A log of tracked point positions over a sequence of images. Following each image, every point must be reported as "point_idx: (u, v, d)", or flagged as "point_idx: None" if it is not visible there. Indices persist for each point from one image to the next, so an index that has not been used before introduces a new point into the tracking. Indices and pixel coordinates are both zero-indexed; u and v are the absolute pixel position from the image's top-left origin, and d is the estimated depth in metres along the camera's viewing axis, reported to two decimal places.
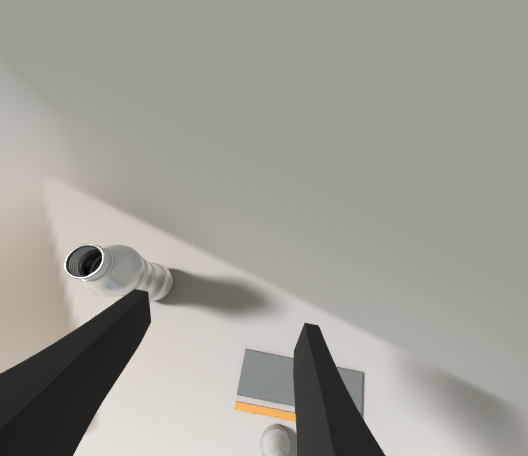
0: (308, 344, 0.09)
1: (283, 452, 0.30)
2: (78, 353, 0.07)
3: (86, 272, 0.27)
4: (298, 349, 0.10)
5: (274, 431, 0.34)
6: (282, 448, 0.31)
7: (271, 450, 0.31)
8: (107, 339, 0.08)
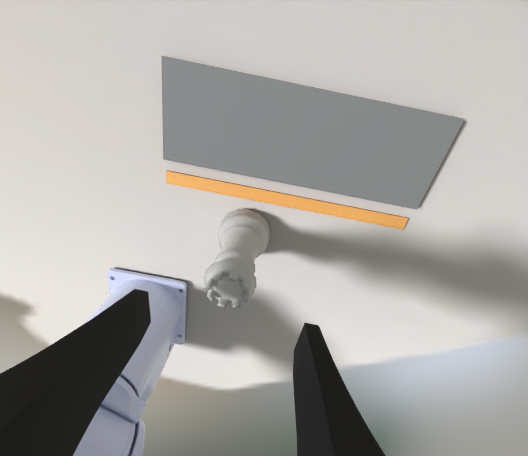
0: (308, 344, 0.09)
1: (240, 254, 0.15)
2: (78, 353, 0.07)
3: None
4: (298, 349, 0.10)
5: (238, 219, 0.18)
6: (244, 246, 0.16)
7: (223, 246, 0.16)
8: (107, 339, 0.08)
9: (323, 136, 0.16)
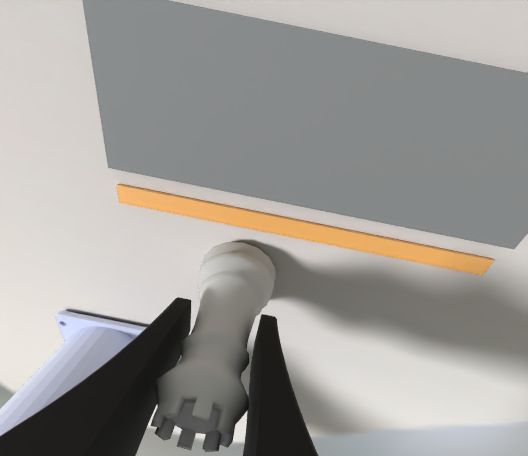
0: (259, 334, 0.09)
1: (223, 340, 0.08)
2: (141, 366, 0.07)
3: None
4: (255, 340, 0.10)
5: (226, 261, 0.11)
6: (231, 317, 0.09)
7: (200, 311, 0.10)
8: (161, 350, 0.08)
9: (370, 130, 0.09)
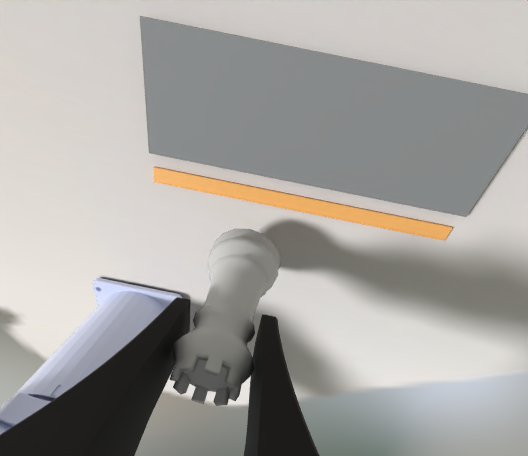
0: (260, 334, 0.09)
1: (231, 312, 0.09)
2: (140, 365, 0.07)
3: None
4: (256, 341, 0.10)
5: (234, 245, 0.12)
6: (239, 293, 0.10)
7: (210, 289, 0.11)
8: (161, 350, 0.08)
9: (350, 122, 0.12)
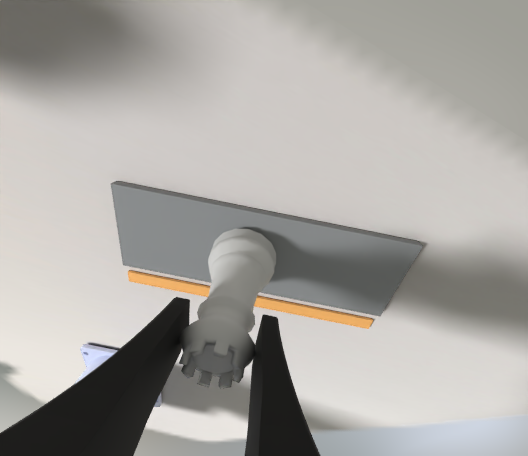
0: (261, 335, 0.09)
1: (235, 303, 0.10)
2: (138, 365, 0.07)
3: None
4: (257, 341, 0.10)
5: (234, 243, 0.13)
6: (240, 287, 0.11)
7: (213, 284, 0.12)
8: (160, 350, 0.08)
9: (279, 253, 0.16)
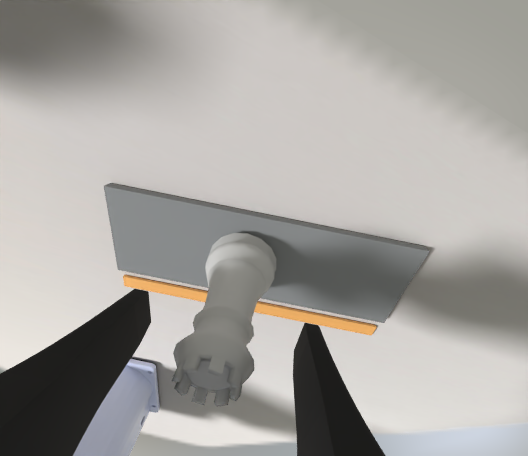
0: (308, 344, 0.09)
1: (232, 314, 0.10)
2: (78, 353, 0.07)
3: None
4: (298, 349, 0.10)
5: (233, 249, 0.13)
6: (238, 296, 0.11)
7: (209, 292, 0.11)
8: (107, 339, 0.08)
9: (279, 259, 0.15)
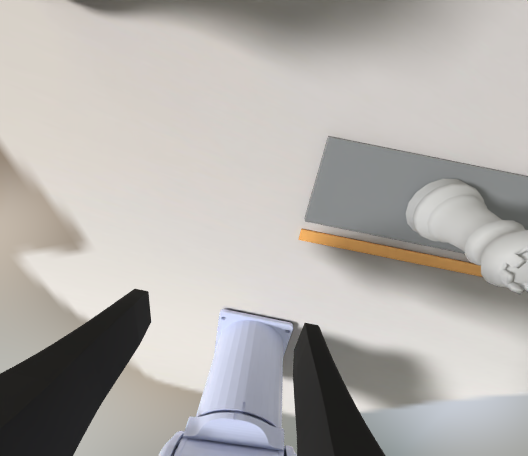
0: (308, 344, 0.09)
1: (518, 226, 0.11)
2: (78, 353, 0.07)
3: None
4: (298, 349, 0.10)
5: (458, 188, 0.15)
6: (499, 218, 0.12)
7: (463, 218, 0.13)
8: (107, 339, 0.08)
9: None
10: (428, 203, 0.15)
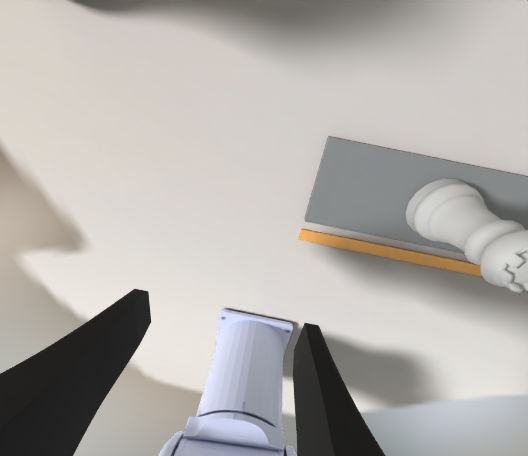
0: (308, 344, 0.09)
1: (518, 226, 0.11)
2: (78, 353, 0.07)
3: None
4: (298, 349, 0.10)
5: (458, 188, 0.15)
6: (499, 218, 0.12)
7: (462, 218, 0.13)
8: (107, 339, 0.08)
9: None
10: (428, 203, 0.15)
